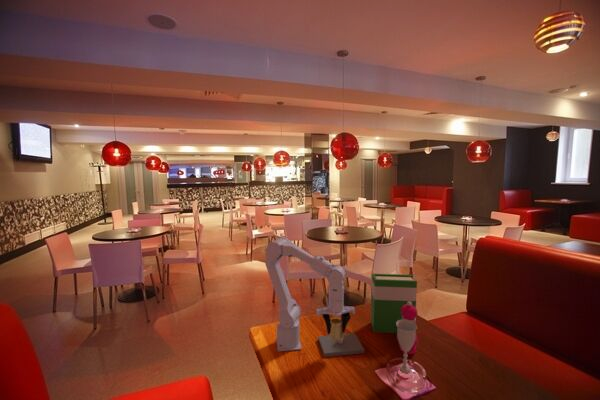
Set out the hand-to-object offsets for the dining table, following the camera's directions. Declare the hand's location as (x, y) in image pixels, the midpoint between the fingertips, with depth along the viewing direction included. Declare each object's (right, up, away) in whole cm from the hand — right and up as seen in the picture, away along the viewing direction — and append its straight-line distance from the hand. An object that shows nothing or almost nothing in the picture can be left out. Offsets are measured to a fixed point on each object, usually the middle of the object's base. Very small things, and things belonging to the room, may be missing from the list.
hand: (335, 331), depth 105 cm
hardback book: (+28, -8, +19) cm, 35 cm away
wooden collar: (0, -2, 0) cm, 2 cm away
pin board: (+3, -9, +6) cm, 11 cm away
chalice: (+23, -11, -9) cm, 27 cm away
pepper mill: (+29, -9, +4) cm, 31 cm away
